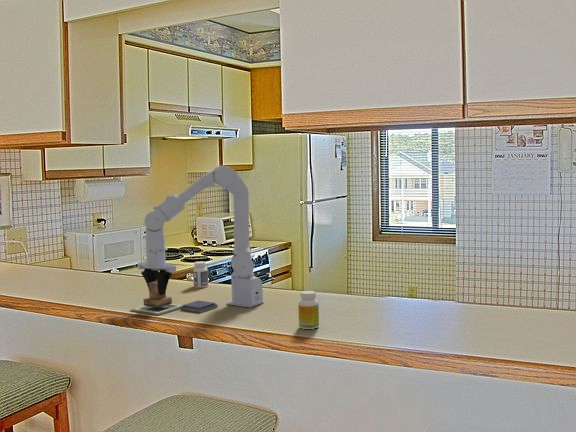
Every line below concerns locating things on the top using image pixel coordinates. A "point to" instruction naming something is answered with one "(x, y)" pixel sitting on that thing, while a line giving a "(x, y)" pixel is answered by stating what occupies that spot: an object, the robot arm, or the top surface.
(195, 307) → the ink pad
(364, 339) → the top surface
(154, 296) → the stamp
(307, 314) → the supplement bottle
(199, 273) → the pill bottle
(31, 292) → the top surface
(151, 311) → the marked square
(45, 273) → the top surface
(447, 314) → the top surface
